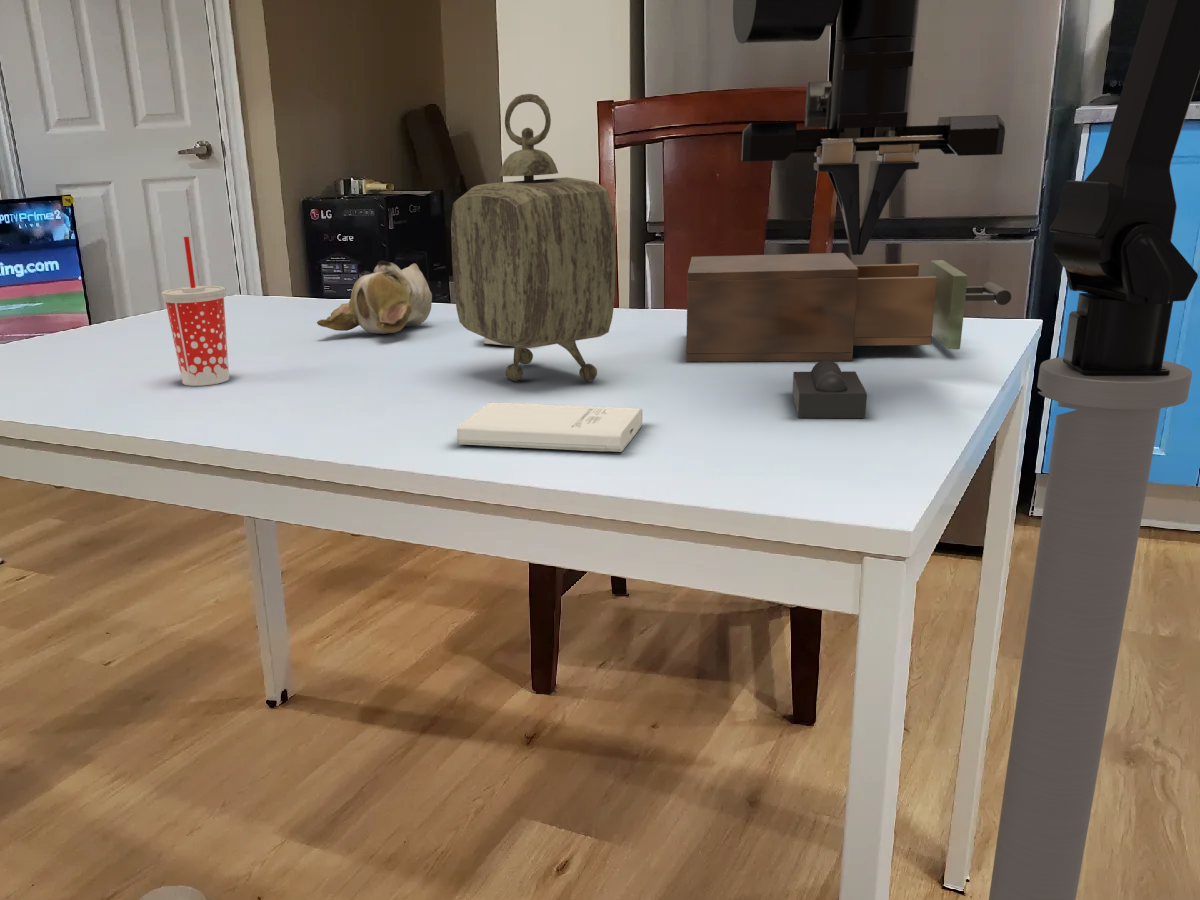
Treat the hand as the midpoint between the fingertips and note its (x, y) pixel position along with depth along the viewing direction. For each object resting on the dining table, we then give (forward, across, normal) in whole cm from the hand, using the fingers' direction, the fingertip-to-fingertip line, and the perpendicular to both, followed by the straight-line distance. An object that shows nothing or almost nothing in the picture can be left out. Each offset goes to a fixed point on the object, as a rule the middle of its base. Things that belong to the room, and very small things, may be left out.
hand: (856, 254), depth 87 cm
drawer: (+10, -7, -22) cm, 25 cm away
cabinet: (+12, +6, -22) cm, 25 cm away
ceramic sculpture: (+12, +50, -34) cm, 61 cm away
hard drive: (+12, +23, +14) cm, 29 cm away
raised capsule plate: (+12, +2, +4) cm, 12 cm away
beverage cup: (+13, +61, -6) cm, 62 cm away
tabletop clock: (+12, +28, -8) cm, 31 cm away
